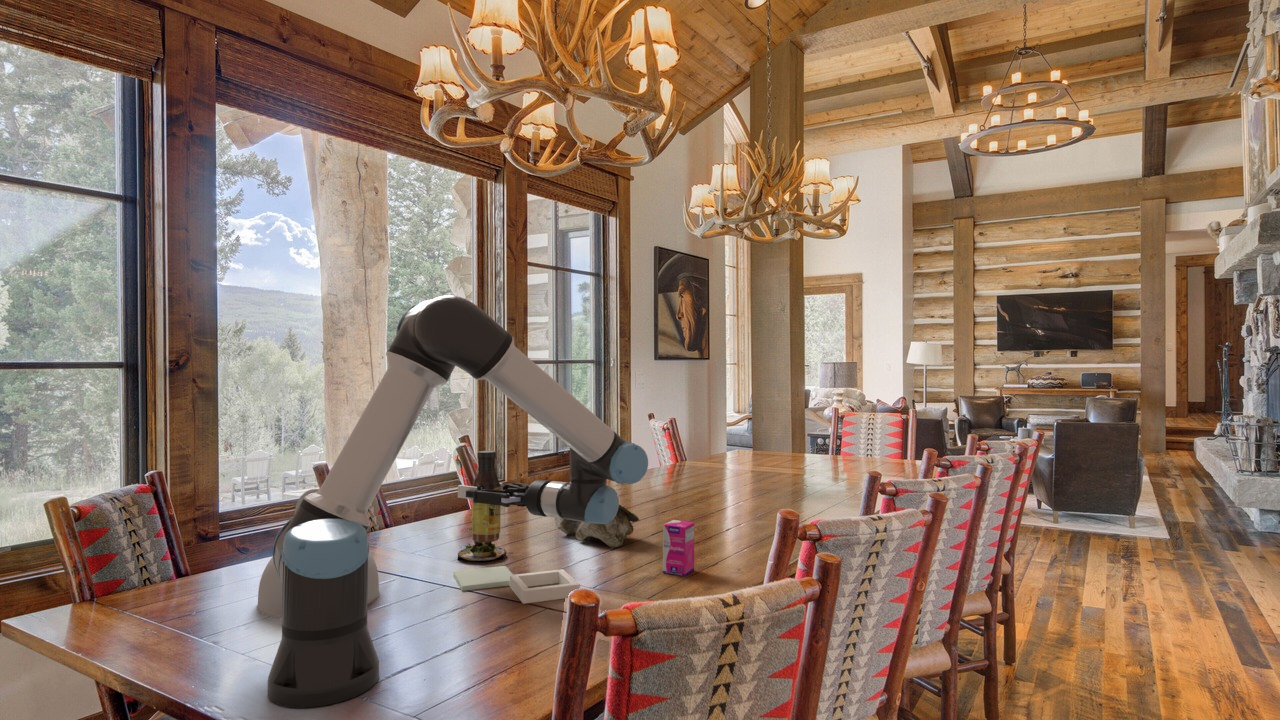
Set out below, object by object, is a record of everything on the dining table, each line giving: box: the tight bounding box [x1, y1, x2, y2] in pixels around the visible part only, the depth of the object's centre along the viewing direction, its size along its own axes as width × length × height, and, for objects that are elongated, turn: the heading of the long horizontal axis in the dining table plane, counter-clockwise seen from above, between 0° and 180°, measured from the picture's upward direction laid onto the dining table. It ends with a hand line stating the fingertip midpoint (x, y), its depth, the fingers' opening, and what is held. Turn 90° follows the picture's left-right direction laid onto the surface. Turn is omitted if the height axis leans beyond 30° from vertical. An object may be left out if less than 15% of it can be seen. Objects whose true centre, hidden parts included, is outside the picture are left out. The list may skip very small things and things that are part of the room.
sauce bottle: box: [471, 450, 501, 543], centre depth 156 cm, size 7×6×20 cm
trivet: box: [452, 565, 514, 592], centre depth 156 cm, size 12×12×1 cm
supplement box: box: [662, 519, 695, 577], centre depth 163 cm, size 6×6×12 cm
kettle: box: [256, 488, 380, 619], centre depth 142 cm, size 25×23×22 cm
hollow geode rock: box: [554, 504, 640, 548], centre depth 194 cm, size 28×13×15 cm
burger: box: [457, 541, 507, 562], centre depth 175 cm, size 12×12×8 cm
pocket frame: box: [509, 568, 581, 605], centre depth 148 cm, size 12×12×2 cm
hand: (470, 489), depth 159 cm, fingers closed on sauce bottle, 6 cm apart
